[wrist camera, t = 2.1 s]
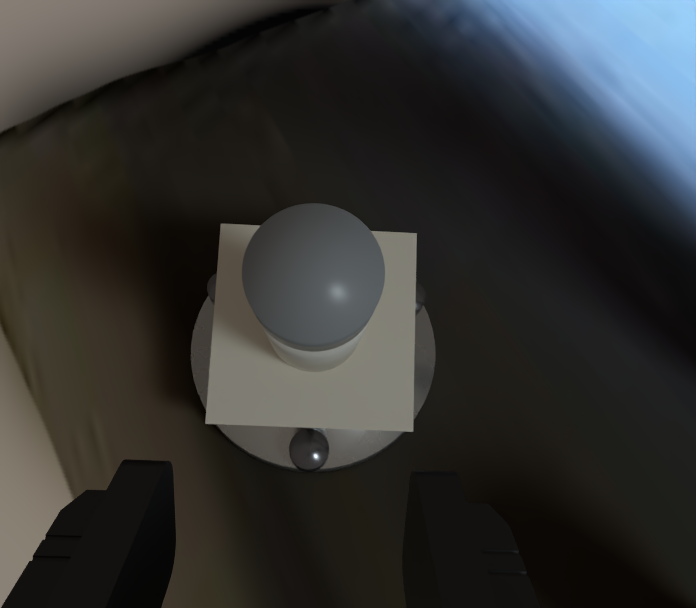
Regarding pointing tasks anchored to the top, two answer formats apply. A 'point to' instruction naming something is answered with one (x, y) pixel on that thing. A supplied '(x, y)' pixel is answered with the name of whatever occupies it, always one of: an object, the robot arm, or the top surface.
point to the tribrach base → (311, 443)
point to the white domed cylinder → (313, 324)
